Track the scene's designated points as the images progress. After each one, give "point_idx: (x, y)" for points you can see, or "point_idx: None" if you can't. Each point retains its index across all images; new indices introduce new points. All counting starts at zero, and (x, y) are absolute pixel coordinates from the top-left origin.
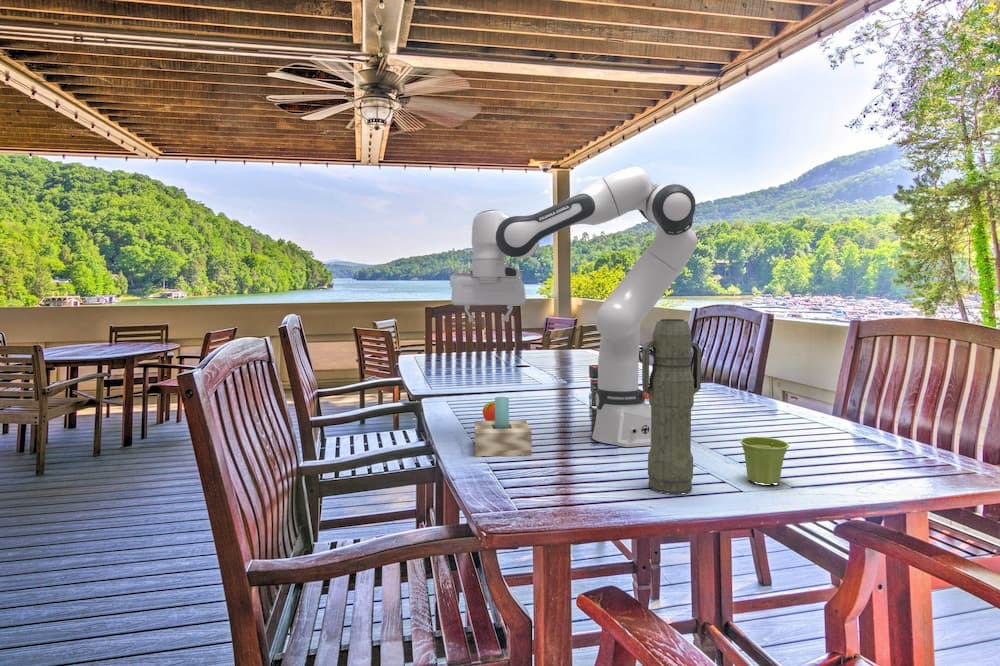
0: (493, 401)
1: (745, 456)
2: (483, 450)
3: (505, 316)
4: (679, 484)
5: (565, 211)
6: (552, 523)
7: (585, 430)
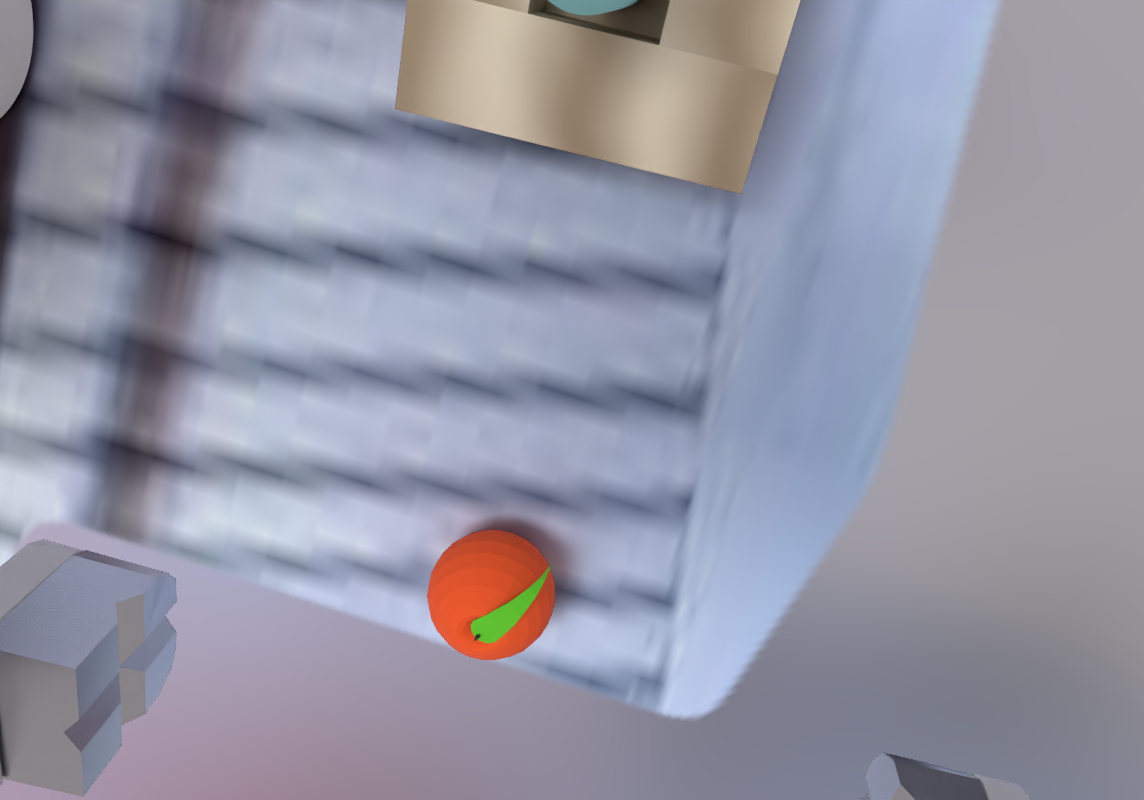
0: (478, 634)
1: None
2: None
3: (34, 634)
4: None
5: None
6: None
7: (44, 241)
